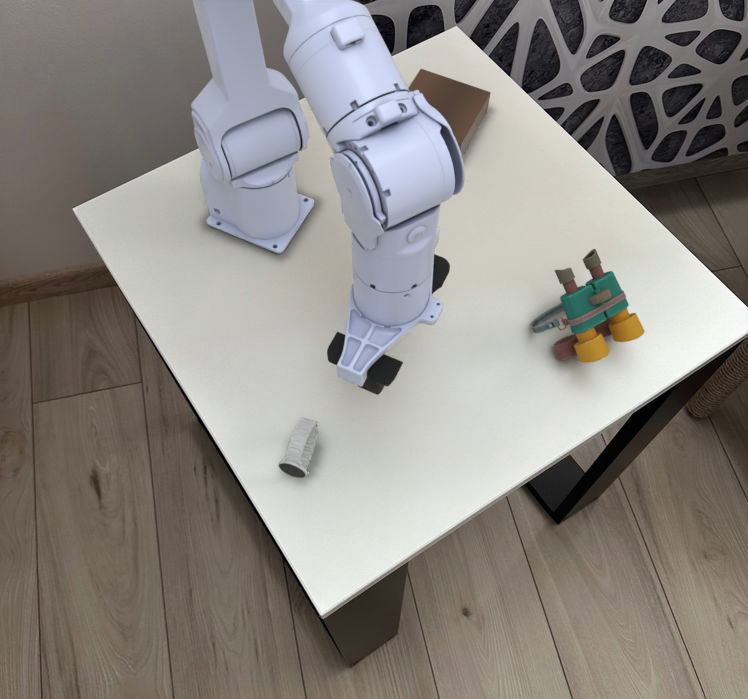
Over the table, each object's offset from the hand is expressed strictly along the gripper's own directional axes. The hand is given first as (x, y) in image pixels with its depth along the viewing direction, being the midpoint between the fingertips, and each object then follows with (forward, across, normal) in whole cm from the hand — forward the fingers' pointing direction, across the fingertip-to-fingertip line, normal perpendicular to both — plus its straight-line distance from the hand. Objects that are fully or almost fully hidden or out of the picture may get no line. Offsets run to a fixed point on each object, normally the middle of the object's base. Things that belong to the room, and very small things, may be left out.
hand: (388, 350), depth 66 cm
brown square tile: (+10, +35, +9) cm, 38 cm away
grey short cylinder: (+10, -9, +4) cm, 14 cm away
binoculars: (+10, +14, -15) cm, 23 cm away
